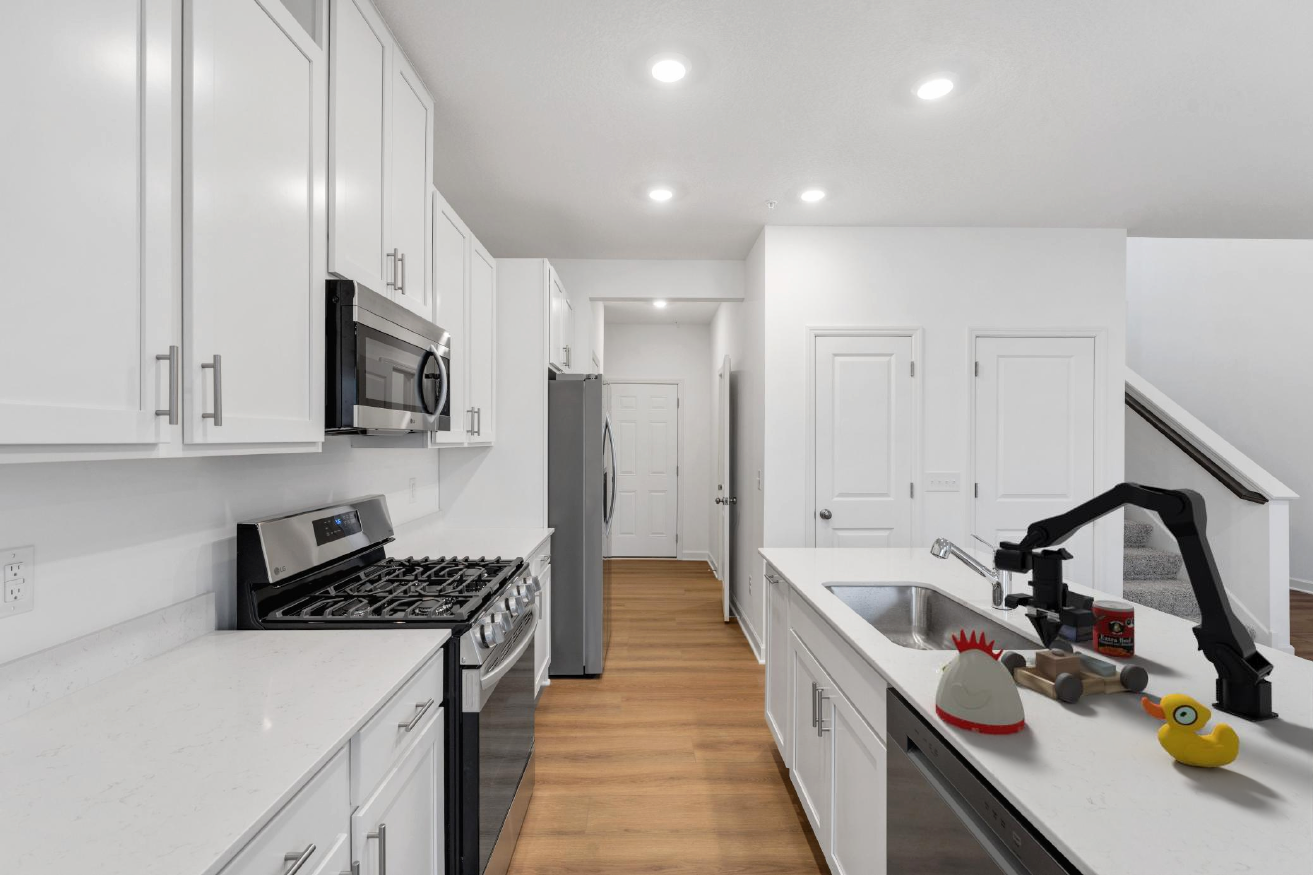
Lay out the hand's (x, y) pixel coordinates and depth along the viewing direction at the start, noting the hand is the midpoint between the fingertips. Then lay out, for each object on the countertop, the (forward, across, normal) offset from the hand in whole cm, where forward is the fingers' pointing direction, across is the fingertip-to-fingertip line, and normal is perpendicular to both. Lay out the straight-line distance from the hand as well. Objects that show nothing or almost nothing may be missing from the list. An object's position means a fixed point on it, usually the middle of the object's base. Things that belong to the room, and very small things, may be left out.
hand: (1048, 648), depth 138 cm
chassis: (+2, -12, +9) cm, 15 cm away
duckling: (+3, -41, +18) cm, 45 cm away
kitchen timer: (+3, -19, +37) cm, 41 cm away
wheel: (+2, -3, 0) cm, 4 cm away
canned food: (+3, -1, -17) cm, 18 cm away
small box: (+2, +12, -18) cm, 22 cm away
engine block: (+2, -13, +12) cm, 17 cm away
